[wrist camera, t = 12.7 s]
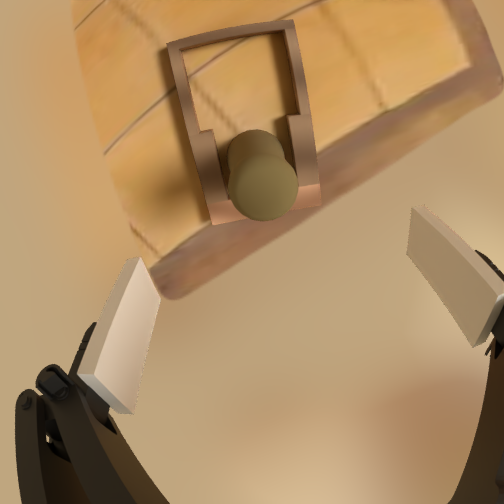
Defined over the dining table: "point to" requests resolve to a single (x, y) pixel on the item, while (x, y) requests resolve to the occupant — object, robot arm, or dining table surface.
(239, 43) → the dining table surface
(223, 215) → the keyhole board
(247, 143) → the olive rounded upright piece
